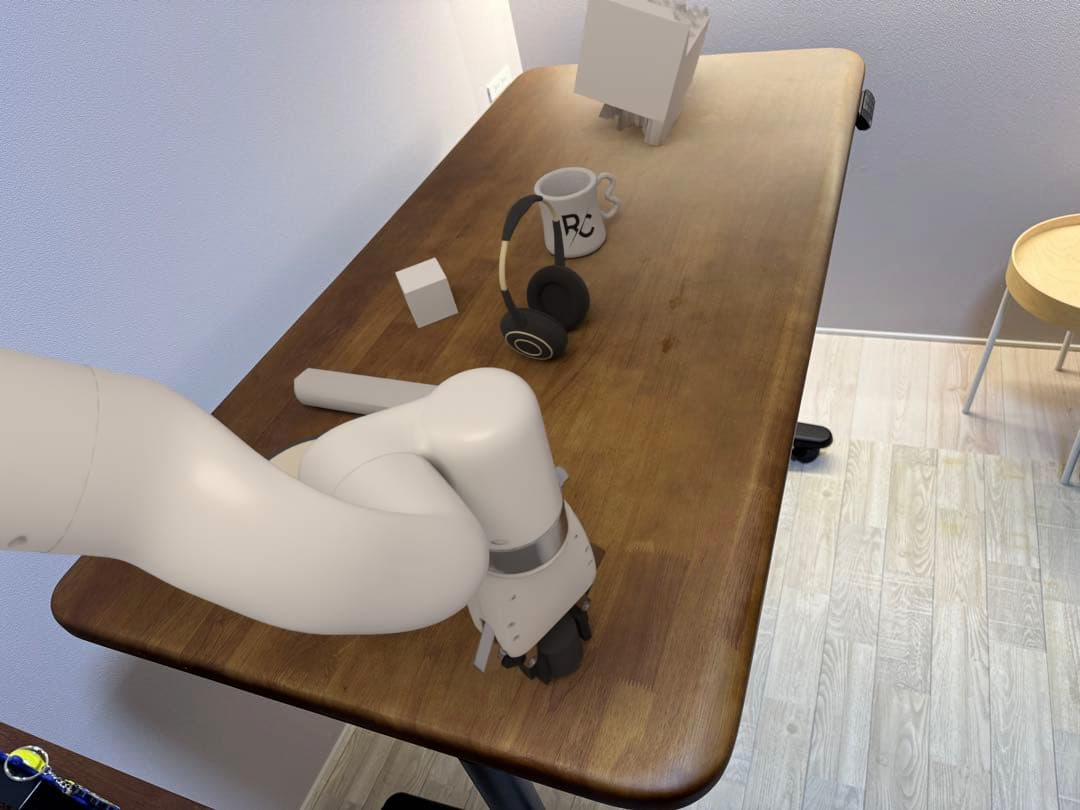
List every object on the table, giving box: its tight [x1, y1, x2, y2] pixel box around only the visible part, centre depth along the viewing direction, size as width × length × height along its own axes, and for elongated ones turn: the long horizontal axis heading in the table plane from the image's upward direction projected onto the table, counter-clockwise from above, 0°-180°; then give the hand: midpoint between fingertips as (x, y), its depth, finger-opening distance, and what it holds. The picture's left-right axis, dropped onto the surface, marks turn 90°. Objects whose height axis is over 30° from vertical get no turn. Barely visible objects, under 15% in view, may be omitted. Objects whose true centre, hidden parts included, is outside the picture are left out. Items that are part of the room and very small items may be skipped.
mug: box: [533, 166, 621, 259], centre depth 112 cm, size 12×9×10 cm
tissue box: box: [573, 0, 712, 147], centre depth 129 cm, size 20×16×25 cm
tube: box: [293, 367, 438, 416], centre depth 95 cm, size 5×5×25 cm
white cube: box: [395, 257, 459, 329], centre depth 109 cm, size 6×6×6 cm
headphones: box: [498, 193, 591, 360], centre depth 93 cm, size 9×15×20 cm, turn 154°
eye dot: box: [537, 612, 584, 678], centre depth 66 cm, size 4×4×4 cm
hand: (557, 650), depth 67 cm, fingers closed on eye dot, 4 cm apart
